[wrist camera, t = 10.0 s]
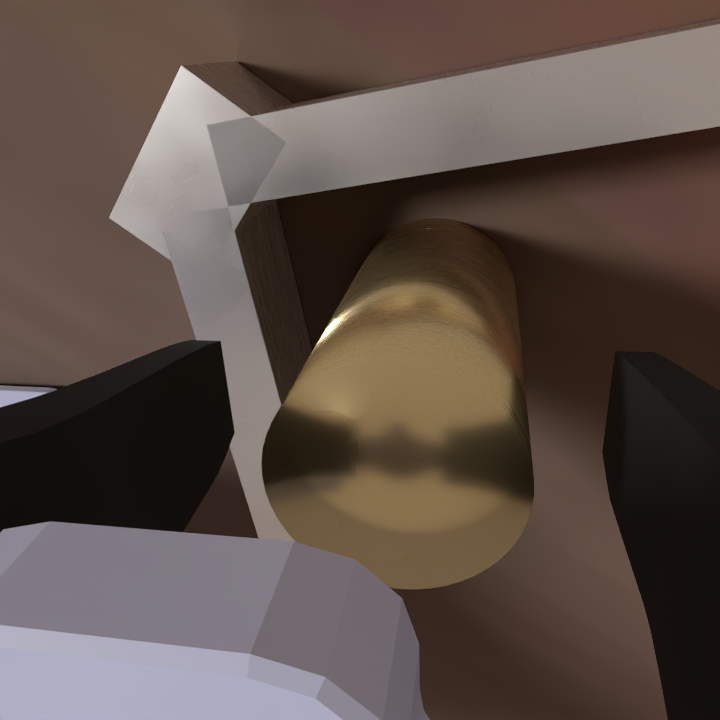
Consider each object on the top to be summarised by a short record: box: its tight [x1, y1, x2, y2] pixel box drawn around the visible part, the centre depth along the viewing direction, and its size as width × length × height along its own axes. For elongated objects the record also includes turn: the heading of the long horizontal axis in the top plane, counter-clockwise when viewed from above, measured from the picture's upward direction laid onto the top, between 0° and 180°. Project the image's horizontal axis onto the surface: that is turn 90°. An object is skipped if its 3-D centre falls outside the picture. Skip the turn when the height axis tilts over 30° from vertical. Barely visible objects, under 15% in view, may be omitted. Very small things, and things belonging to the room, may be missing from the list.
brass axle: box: [261, 219, 534, 589], centre depth 13 cm, size 4×4×8 cm
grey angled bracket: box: [109, 18, 720, 542], centre depth 15 cm, size 9×16×3 cm, turn 146°
